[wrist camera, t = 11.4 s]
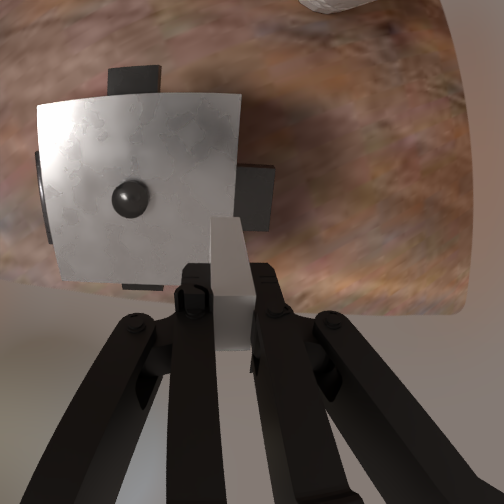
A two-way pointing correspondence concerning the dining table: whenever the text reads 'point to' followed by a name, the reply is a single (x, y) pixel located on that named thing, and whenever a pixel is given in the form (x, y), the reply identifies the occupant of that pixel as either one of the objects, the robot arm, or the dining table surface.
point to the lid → (143, 183)
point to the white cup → (332, 5)
